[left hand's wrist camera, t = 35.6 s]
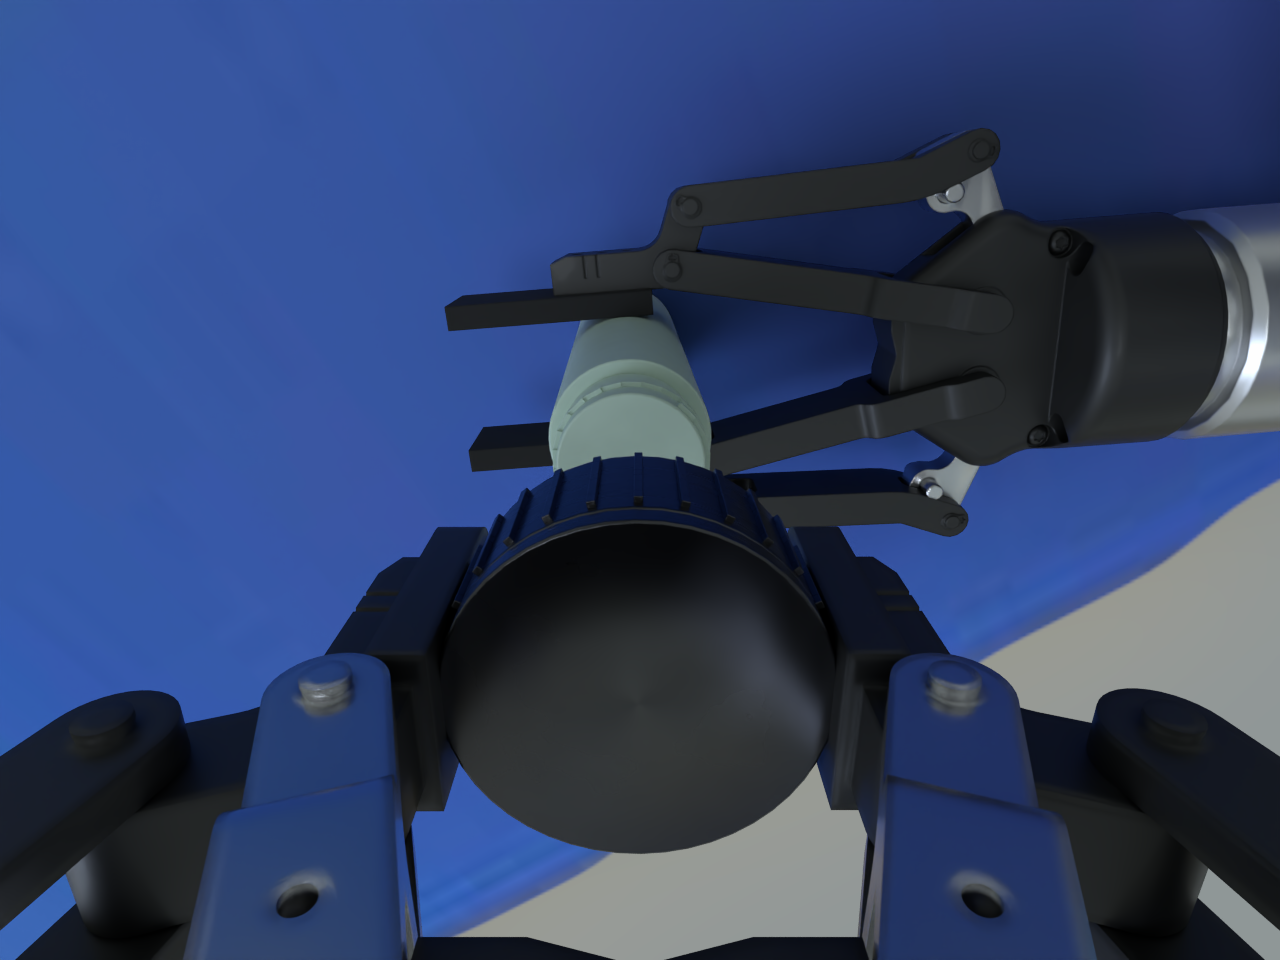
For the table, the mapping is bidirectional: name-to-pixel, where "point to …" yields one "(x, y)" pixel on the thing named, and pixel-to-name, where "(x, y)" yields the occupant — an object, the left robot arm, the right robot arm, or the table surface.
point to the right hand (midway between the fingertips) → (468, 382)
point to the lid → (637, 659)
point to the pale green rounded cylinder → (629, 395)
